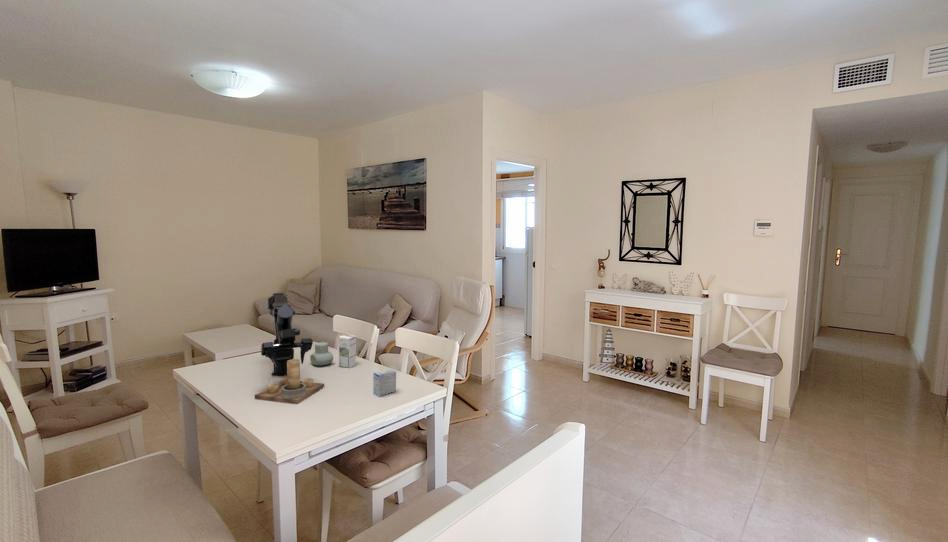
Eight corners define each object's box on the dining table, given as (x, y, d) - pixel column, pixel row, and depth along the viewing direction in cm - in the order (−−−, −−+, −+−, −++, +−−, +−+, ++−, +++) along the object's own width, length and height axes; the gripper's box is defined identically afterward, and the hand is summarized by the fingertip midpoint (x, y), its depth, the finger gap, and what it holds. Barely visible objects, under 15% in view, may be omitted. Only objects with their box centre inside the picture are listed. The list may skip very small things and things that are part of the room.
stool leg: (285, 394, 163) (284, 360, 162) (296, 391, 167) (296, 358, 166) (291, 397, 161) (290, 363, 159) (302, 394, 164) (301, 360, 163)
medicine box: (389, 389, 176) (390, 368, 175) (396, 392, 172) (396, 371, 172) (372, 393, 170) (373, 372, 169) (379, 397, 167) (379, 375, 166)
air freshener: (308, 363, 207) (308, 342, 206) (325, 360, 213) (325, 340, 212) (318, 368, 199) (317, 347, 198) (335, 365, 205) (335, 344, 204)
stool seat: (254, 398, 162) (254, 387, 162) (285, 382, 180) (285, 372, 179) (297, 404, 158) (296, 392, 158) (324, 387, 176) (324, 376, 176)
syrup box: (356, 364, 206) (356, 335, 205) (349, 368, 201) (349, 337, 199) (346, 363, 208) (346, 333, 207) (338, 366, 202) (338, 336, 201)
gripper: (261, 322, 167) (265, 358, 159) (311, 318, 177) (318, 351, 169) (259, 338, 174) (263, 372, 166) (307, 333, 184) (313, 365, 176)
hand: (290, 365), depth 169 cm, fingers open, 9 cm apart
